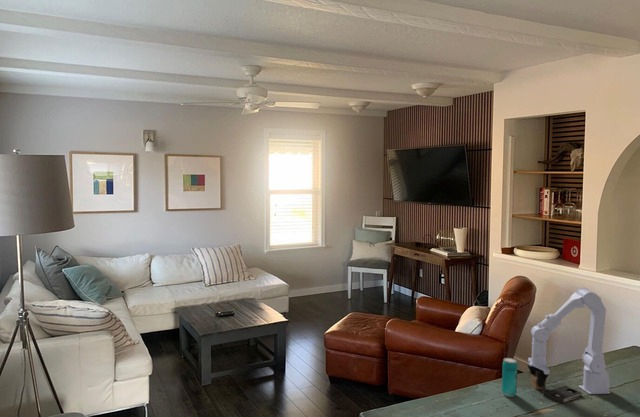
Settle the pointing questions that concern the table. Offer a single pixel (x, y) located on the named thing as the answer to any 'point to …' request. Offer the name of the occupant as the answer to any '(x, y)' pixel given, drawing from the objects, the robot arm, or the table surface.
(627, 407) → the table surface
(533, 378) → the walnut block
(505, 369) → the beverage can
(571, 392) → the vhs tape
